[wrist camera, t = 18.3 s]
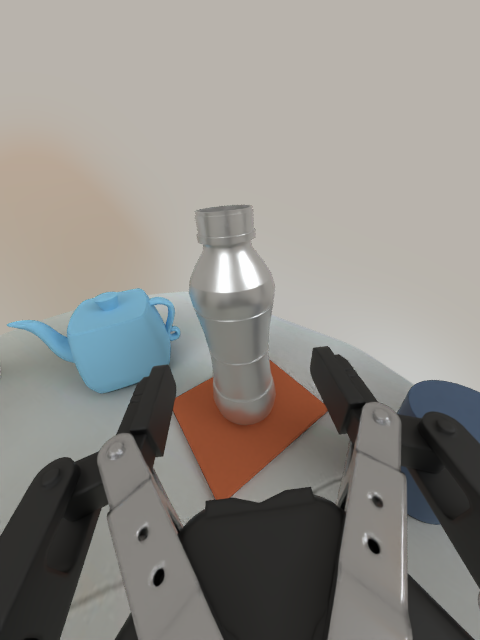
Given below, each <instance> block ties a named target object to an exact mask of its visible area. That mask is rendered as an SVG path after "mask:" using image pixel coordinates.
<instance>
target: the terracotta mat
mask: <svg viewBox="0 0 480 640" xmlns="http://www.w3.org/2000/svg"><path fill="white" fill-rule="evenodd" d="M269 362H270V370H271V374H272V377H273V381H274V385H275V393H276V395H275V401H274V404H273V407H272V410H271V412H270V413H269V415H268V416H267V417H266V418H265V419H264V420H262V421H260V422H258V423H255V424H251V425H239V424H235V423H233V422H231V421H229V420H227V419H226V418H225V417H224V416H223V415H222V414H221V412H220V411H219V409H218V407H217V405H216V403H215V401H214V396H213V378H214V377H212V378H210V379H209V380H207V381H205V382H203V383H201V384H200V385H198V386H196V387H194V388H192V389H191V390H189V391H187V392H185V393H183V394H182V395H180V396H178V397H176V398H175V401H174V406H173V412H174V414H175V416H176V418H177V420H178V422H179V424H180V426H181V428H182V430H183V433H184V435H185V437H186V439H187V441H188V443H189V445H190V447H191V449H192V451H193V453H194V455H195V457H196V460H197V462H198V464H199V466H200V468H201V470H202V472H203V474H204V476H205V478H206V480H207V482H208V484H209V487H210V489H211V491H212V493H213V495H214V497H215V499H216V500H217V499H225V498H230V497H231V496H232V495H233V494H234V493H236V492H237V491H238V490H239V489H240V488H241V487H242V486H243V485H245V484H246V483H247V482H248V481H249V480H250V479H251V478H253V477H254V476H255V475H256V474H257V473H258V472H259V471H260V470H262V469H263V468H264V467H265V466H266V465H267V464H268V463H269V462H271V461H272V460H273V459H274V458H275V457H276V456H277V455H278V454H280V453H281V452H282V451H283V450H284V449H285V448H286V447H288V446H289V445H290V444H291V443H292V442H293V441H294V440H295V439H297V438H298V437H299V436H300V435H301V434H302V433H303V432H304V431H306V430H307V429H308V428H309V427H310V426H311V425H312V424H314V423H315V422H316V421H317V420H318V419H319V418H320V417H321V416H323V415H324V414H325V413H326V412H327V411H328V410H327V408H326V406H325V404H324V403H322V402H321V401H320V400H319V399H317V398H316V397H315V396H314V395H313V394H311V393H310V392H309V391H308V390H306V389H305V388H304V387H303V386H301V385H300V384H299V383H298V382H296V381H295V380H294V379H293V378H292V377H290V376H289V375H288V374H287V373H285V372H284V371H283V370H282V369H280V368H279V367H278V366H277V365H275V364H274V363H273V362H272V361H271V360H269Z"/></svg>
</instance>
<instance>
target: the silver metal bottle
mask: <svg viewBox="0 0 480 640" xmlns="http://www.w3.org/2000/svg"><path fill="white" fill-rule="evenodd" d="M195 214H196V215H195V219H196V224H197V231H198V234H197V239H198V243H200V244H203V252H202V254H201V256H200V258H199V259H198V262H197V263H196V265H195V268H194V270H193V273H192V275H191V278H190V284H189V295H190V298H191V301H192V304H193V307H194V309H195V312H196V314H197V317H198V319H199V321H200V324H201V326H202V329H203V331H204V334H205V337H206V341H207V344H208V347H209V351H210V354H211V359H212V368H213V377H214V378H213V396H214V401H215V403H216V405H217V407H218V409H219V411H220V412H221V414H222V415H223V416H224V417H225V418H226V419H227V420H229V421H231V422H233V423H235V424H239V425H251V424H255V423H258V422H260V421H262V420H264V419H265V418H266V417H267V416H268V415H269V413H270V412H271V410H272V407H273V404H274V401H275V395H276V393H275V385H274V381H273V377H272V374H271V370H270V362H269V355H268V347H269V345H268V342H269V326H270V320H271V313H272V306H273V299H274V291H275V284H274V281H273V277H272V274H271V272H270V270H269V269H268V267H267V265H266V264H265V262H264V261H263V259H262V258H261V257H260V256H259V254H258V253H257V252H256V251H255V250H254V248H253V247H252V243H251V240H252V239H253V238H255V228H254V222H253V209H252V205H230V206H219V207H211V208H205V209H200V210H196V211H195Z"/></svg>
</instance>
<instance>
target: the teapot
mask: <svg viewBox="0 0 480 640" xmlns="http://www.w3.org/2000/svg"><path fill="white" fill-rule="evenodd" d="M157 304H163V305H166V306H167V307H168V318H167V322H166V325H165V324H164V322H163V320H162V318H161V316H160V314H159V313H158V311H157V309H156V308H155V306H154V305H157ZM174 315H175V309H174V306H173V304H172V303H171V302H170V301H169V300H167V299H165V298H162V297H154V298H151V299H149V297H148V296H147V294H146V293H145V292H144V291H143V290H142V289H139V288H137V289H132V290H127V291H122V292H117V293H116V292H106V293H102V294H100V295H98V296H96V297H95V298H92V299H88V300H85V301H83V302H82V303H81V304H80V305H79V306H78V307H77V308H76V310H75V311H74V313H73V315H72V316H71V319H70V321H69V325H68V328H67V337H65V336H63V335H61V334H60V333H58V332H57V331H55V330H54V329H53V328H51V327H50V326H48V325H46V324H44V323H42V322H39V321H35V320H24V321H16V322H12V323H9V324H7V326H9V327H14V328H19V329H24V330H27V331H29V332H32V333H33V334H35V335H36V336H38V337H39V338H40V339H41V340H42V341H43V342H44V343H45V344H46V345H47V346H48V347H49V348H50V349H51V350H52V351H53V352H54V353H55V354H56V355H57V356H58V357H60V358H62V359H64V360H66V361H69V362H73V363H75V365H76V367H77V369H78V371H79V373H80V375H81V377H82V379H83V381H84V382H85V384H86V385H87V386H88V387H89V388H90V389H92V390H94V391H96V392H98V393H107V392H110V391H114V390H117V389H120V388H123V387H126V386H129V385H132V384H135V383H138V382H140V381H141V380H142V379H143V377H148V376H149V375H150V372H151V370H152V367H153V366H158V365H167V364H168V365H169V363H170V351H171V345H170V341H173V340H176V339H177V338H179V336H180V329H179V328H178V327H176V326H172V324H173V320H174ZM171 331H176V332H175V333H173V334H170V332H171Z"/></svg>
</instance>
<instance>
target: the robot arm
mask: <svg viewBox="0 0 480 640" xmlns="http://www.w3.org/2000/svg"><path fill="white" fill-rule="evenodd" d="M310 372H311V376H312V379H313V381H314V383H315V385H316V387H317V389H318V391H319V393H320V395H321V398H322V400H323V402H324V404H325V406H326V408H327V410H328V412H329V414H330V416H331V418H332V420H333V422H334V424H335V427H336V429H337V431H338V433H339V434H346V433H347V434H348V436H349V438H350V442H349V447H348V452H347V457H346V462H345V467H344V472H343V477H342V481H341V485H340V488H339V492H338V496H337V500H336V504H334V503H333V502H331V501H329V500H327V499H325V498H323V497H320V496H317V495H313V492H312V489H311V487H306V488H298V489H291V490H285V491H283V492H281V493H279V494H277V495H275V496H273V497H271V498H269V499H267V500H265V501H263V502H260V503H257V502H252V501H247V500H242V499H237V498H225V499H217V500H210V501H206V506H205V510H203V511H201V512H199V513H198V514H196V515H195V516H194V517H193V518H192V519H190V520H189V521H188V522H187V524H186V525H185V526H184V527H183V525H182V523H181V521H180V519H179V517H178V515H177V513H176V511H175V510H174V508H173V506H172V504H171V502H170V500H169V498H168V496H167V494H166V492H165V490H164V488H163V486H162V484H161V482H160V480H159V478H158V476H157V474H156V472H155V470H154V468H153V464H154V460H155V457H161V456H163V455H164V450H165V445H166V440H167V435H168V430H169V426H170V421H171V416H172V411H173V406H174V401H175V396H176V383H175V380H174V378H173V375H172V372H171V369H170V367H169V365H168V364H167V365H158V366H153V367H152V370H151V372H150V375H149V376H148V377H143V379H142V380H141V381H140V382H139V383H138V384H137V386H136V388H135V391H134V393H133V396H132V398H131V400H130V404H129V405H128V408H127V410H126V413H125V415H124V417H123V420H122V422H121V425H120V427H119V430H118V432H117V434H116V435H115V436H114V437H112V438H111V439H109V440H108V441H107V442H106V443H105V444H104V445H103V446H102V448H101V449H100V451H98V452H96V453H94V454H92V455H90V456H87V457H85V458H83V459H80V460H78V461H76V462H74V461H73V460H72V459H71V458H68V457H63V458H59V459H57V460H54V461H53V462H51V463H49V464H48V465H47V466H45V467H44V468H43V469H42V470H41V471H40V472H39V473H38V474H37V475H36V477H35V478H34V480H33V481H32V483H31V484H30V486H29V488H28V490H27V491H26V493H25V495H24V497H23V498H22V500H21V502H20V503H19V505H18V507H17V509H16V510H15V512H14V514H13V515H12V517H11V519H10V521H9V522H8V524H7V526H6V527H5V529H4V531H3V533H2V534H1V536H0V640H60V637H61V634H62V631H63V627H64V624H65V621H66V618H67V615H68V612H69V609H70V605H71V602H72V599H73V596H74V593H75V590H76V587H77V583H78V580H79V577H80V574H81V571H82V568H83V565H84V561H85V558H86V555H87V552H88V549H89V546H90V543H91V539H92V536H93V533H94V530H95V527H96V524H97V521H98V517H99V514H100V511H101V508H102V507H104V506H106V505H108V504H109V507H110V512H108V514H107V521H108V525H109V529H110V533H111V537H112V541H113V545H114V548H115V552H116V556H117V560H118V564H119V568H120V571H121V575H122V579H123V583H124V587H125V590H126V594H127V598H128V602H129V606H130V610H131V613H130V615H129V617H128V618H127V620H126V622H125V623H124V625H123V627H122V628H121V630H120V632H119V633H118V635H117V637H116V638H115V640H474V639H473V638H472V637H471V636H470V635H469V634H468V633H467V632H466V631H465V630H464V629H463V628H462V627H461V626H460V625H459V624H458V623H457V622H456V621H455V620H454V619H453V618H452V617H451V616H450V615H449V614H448V613H447V612H446V611H445V610H444V609H443V608H442V607H441V606H440V605H439V604H438V603H437V602H436V601H435V600H434V599H433V598H432V597H431V596H430V595H429V594H428V593H427V592H426V591H425V590H424V589H423V588H422V587H421V586H420V585H419V584H418V583H417V582H416V581H415V580H414V579H413V578H412V577H411V576H410V575H409V574H408V573H407V480H406V475H405V473H403V472H402V471H401V466H403V467H406V468H407V470H408V471H409V473H410V475H411V476H412V478H413V479H414V481H415V483H416V484H417V486H418V488H419V489H420V491H421V493H422V494H423V496H424V498H425V499H426V501H427V503H428V504H429V506H430V508H431V509H432V511H433V512H434V514H435V516H436V517H437V519H438V521H439V522H440V524H441V526H442V527H443V529H444V531H445V532H446V534H447V536H448V537H449V539H450V541H451V542H452V544H453V545H454V547H455V549H456V550H457V552H458V554H459V555H460V557H461V559H462V560H463V562H464V564H465V565H466V567H467V569H468V570H469V572H470V574H471V575H472V577H473V579H474V580H475V582H476V583H477V585H478V587H479V588H480V443H479V442H478V441H477V440H476V439H475V438H474V437H473V436H472V435H471V434H470V433H469V432H468V431H467V429H466V428H465V427H464V426H463V425H462V424H461V423H459V422H458V421H457V420H455V419H454V418H452V417H450V416H448V415H446V414H443V413H440V412H435V411H431V412H427V413H425V414H424V416H423V417H422V418H417V417H411V416H406V415H400V414H397V413H396V412H395V411H394V410H392V409H391V408H390V407H388V406H386V405H384V404H382V403H379V402H378V401H377V400H376V399H375V397H374V396H373V394H372V393H371V392H370V390H369V389H368V388H367V386H366V385H365V384H364V382H363V381H362V379H361V378H360V377H359V376H358V374H357V373H356V371H355V370H354V369H353V367H352V366H351V364H350V363H349V362H348V360H346V359H345V358H343V357H342V356H341V355H339V354H338V355H334V353H333V352H332V351H331V349H330V348H329V347H328V346H325V347H316V348H313V351H312V358H311V365H310ZM478 605H479V609H480V592H479V595H478Z"/></svg>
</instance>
